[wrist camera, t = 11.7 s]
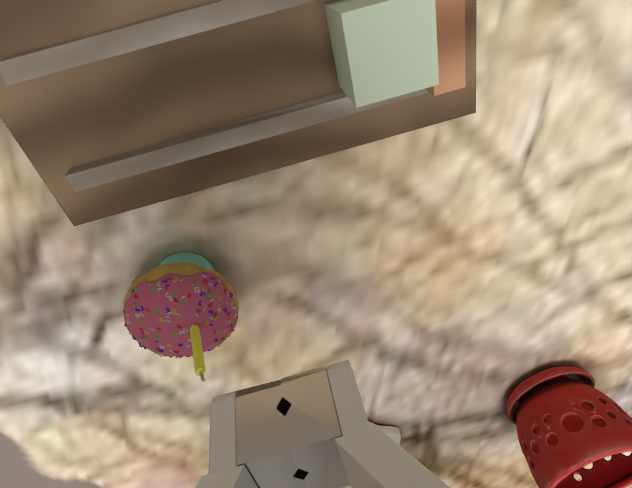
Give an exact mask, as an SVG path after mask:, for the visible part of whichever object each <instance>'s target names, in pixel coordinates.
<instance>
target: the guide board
mask: <svg viewBox="0 0 632 488" xmlns="http://www.w3.org/2000/svg"><path fill="white" fill-rule="evenodd" d="M328 1H332V0H0V117H1V118H2V120H3V121H4V123H5V124H6V126H7V127H8V129H9V130H10V132H11V133H12V135H13V136H14V138H15V139H16V141H17V142H18V144H19V145H20V147H21V148H22V150H23V151H24V153H25V154H26V156H27V157H28V159H29V160H30V161H31V163H32V164H33V166H34V167H35V169H36V170H37V172H38V173H39V175H40V176H41V178H42V179H43V181H44V182H45V184H46V185H47V187H48V188H49V190H50V191H51V193H52V194H53V196H54V197H55V199H56V200H57V202H58V203H59V205H60V206H61V208H62V209H63V211H64V212H65V213H66V215H67V216H68V218H69V219H70V221H71V222H72V224H73V225H74V226H77V225H80V224H84V223H87V222H91V221H94V220H98V219H101V218H105V217H108V216H112V215H115V214H119V213H123V212H126V211H130V210H133V209H137V208H140V207H144V206H147V205H151V204H154V203H158V202H161V201H165V200H168V199H172V198H175V197H179V196H183V195H186V194H190V193H193V192H197V191H200V190H204V189H207V188H211V187H214V186H218V185H221V184H225V183H228V182H232V181H236V180H239V179H243V178H246V177H250V176H253V175H257V174H260V173H264V172H267V171H271V170H274V169H278V168H281V167H285V166H288V165H292V164H296V163H299V162H303V161H306V160H310V159H313V158H317V157H320V156H324V155H327V154H331V153H334V152H338V151H341V150H345V149H349V148H352V147H356V146H359V145H363V144H366V143H370V142H373V141H377V140H380V139H384V138H387V137H391V136H394V135H398V134H401V133H405V132H409V131H412V130H416V129H419V128H423V127H426V126H430V125H433V124H437V123H440V122H444V121H447V120H451V119H454V118H458V117H462V116H465V115H469V114H472V113H476V0H435V6H436V28H437V50H438V73H439V85H436V86H432V87H429V88H425V89H421V90H418V91H414V92H411V93H407V94H404V95H400V96H397V97H393V98H389V99H386V100H382V101H379V102H375V103H372V104H368V105H365V106H361V107H357V108H356V107H355V105H354V104H353V103H352V102H351V100H350V99H349V98H348V97H347V95H346V94H345V93H344V92H343V90H342V89H341V88H340V87H339V83H338V77H337V72H336V66H335V61H334V55H333V50H332V44H331V39H330V33H329V28H328V22H327V17H326V11H325V5H324V3H325V2H328Z"/></svg>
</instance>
